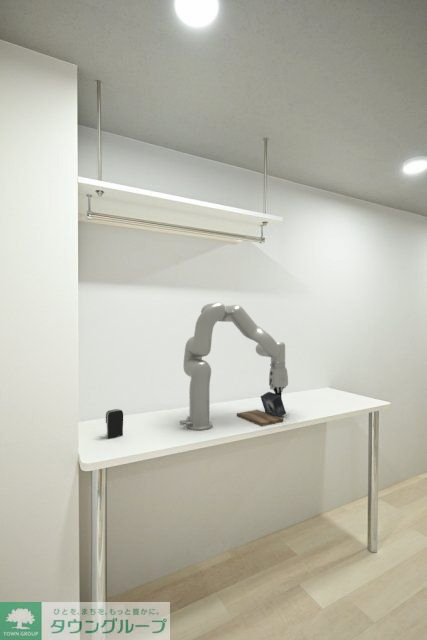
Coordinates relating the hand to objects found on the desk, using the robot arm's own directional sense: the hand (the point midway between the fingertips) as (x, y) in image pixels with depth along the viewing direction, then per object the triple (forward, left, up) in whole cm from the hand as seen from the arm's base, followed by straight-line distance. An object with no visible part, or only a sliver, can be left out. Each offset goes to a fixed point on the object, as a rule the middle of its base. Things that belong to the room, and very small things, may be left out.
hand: (278, 399), depth 173 cm
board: (-13, 0, -8) cm, 15 cm away
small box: (-2, 0, -7) cm, 8 cm away
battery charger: (-83, +14, -8) cm, 85 cm away
